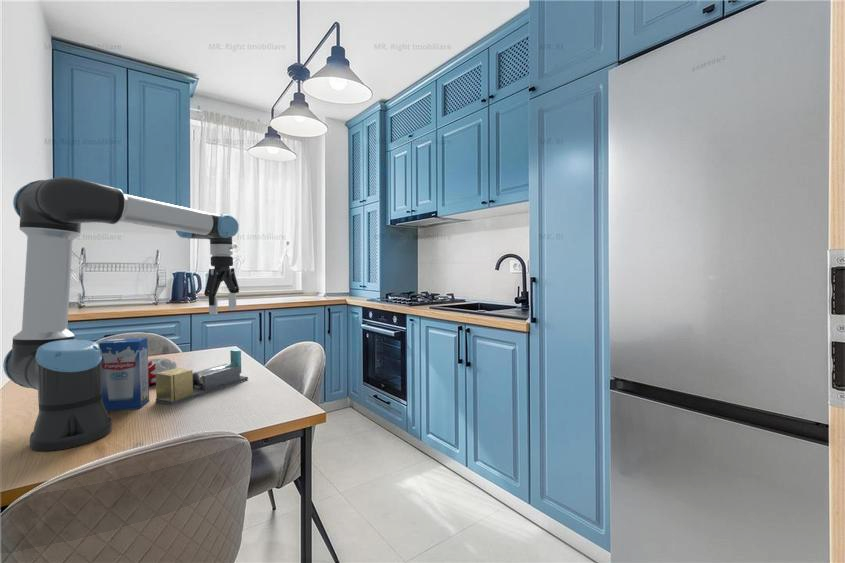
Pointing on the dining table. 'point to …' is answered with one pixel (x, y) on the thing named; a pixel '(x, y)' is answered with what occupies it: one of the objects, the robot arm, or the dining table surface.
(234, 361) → the bolt
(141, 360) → the milk carton
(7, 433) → the dining table surface
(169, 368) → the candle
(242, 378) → the mat
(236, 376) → the guide
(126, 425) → the dining table surface
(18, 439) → the dining table surface
